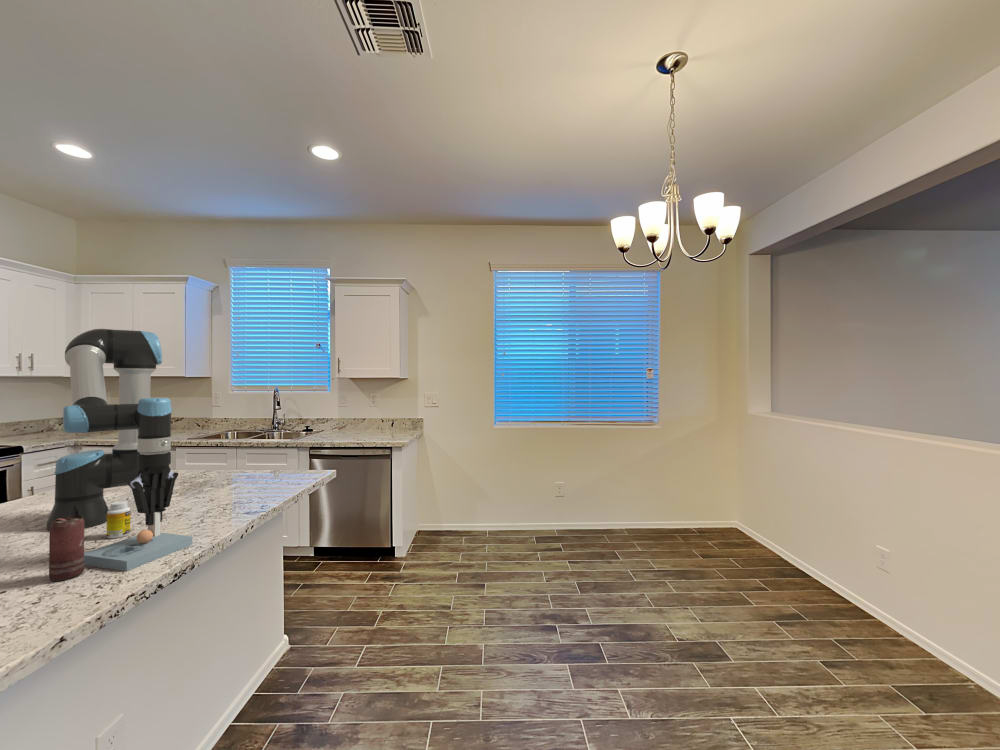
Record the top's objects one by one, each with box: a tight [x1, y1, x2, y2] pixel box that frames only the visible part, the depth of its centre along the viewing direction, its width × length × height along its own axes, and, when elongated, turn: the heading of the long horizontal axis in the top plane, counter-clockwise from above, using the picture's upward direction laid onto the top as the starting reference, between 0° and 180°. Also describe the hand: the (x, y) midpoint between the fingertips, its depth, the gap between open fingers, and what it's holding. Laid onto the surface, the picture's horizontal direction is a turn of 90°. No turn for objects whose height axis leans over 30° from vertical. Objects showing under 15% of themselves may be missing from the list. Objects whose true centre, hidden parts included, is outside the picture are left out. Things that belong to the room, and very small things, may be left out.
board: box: [84, 532, 193, 572], centre depth 122 cm, size 16×18×2 cm
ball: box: [136, 529, 153, 544], centre depth 123 cm, size 4×4×4 cm
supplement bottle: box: [106, 500, 132, 539], centre depth 136 cm, size 6×6×10 cm
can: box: [48, 516, 85, 582], centre depth 108 cm, size 6×6×14 cm
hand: (153, 535), depth 126 cm, fingers closed
